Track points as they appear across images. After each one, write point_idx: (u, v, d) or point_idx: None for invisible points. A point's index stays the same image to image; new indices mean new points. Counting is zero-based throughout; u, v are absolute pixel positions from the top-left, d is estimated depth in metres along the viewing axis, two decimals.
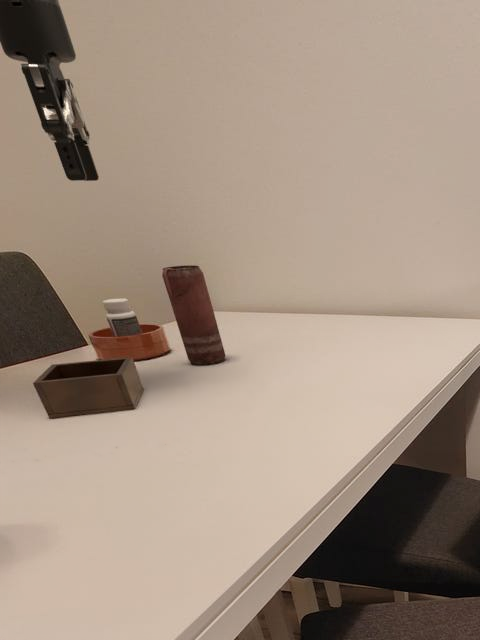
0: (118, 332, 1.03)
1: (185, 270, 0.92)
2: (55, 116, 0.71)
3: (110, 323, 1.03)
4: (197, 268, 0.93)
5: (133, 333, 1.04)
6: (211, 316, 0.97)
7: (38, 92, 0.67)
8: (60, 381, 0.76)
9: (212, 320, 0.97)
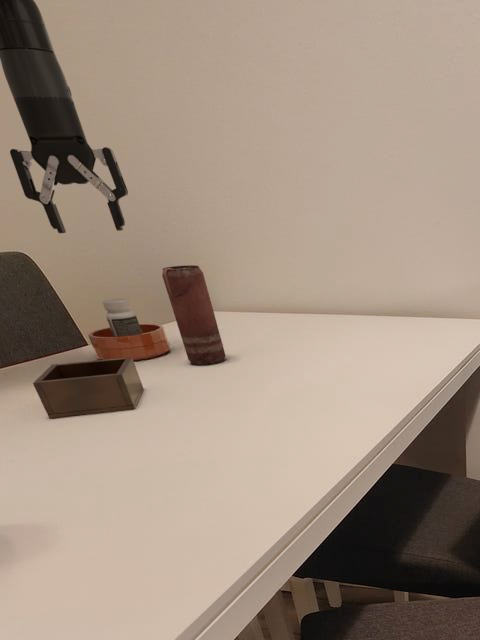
0: (118, 332, 1.03)
1: (185, 270, 0.92)
2: None
3: (110, 323, 1.03)
4: (197, 268, 0.93)
5: (133, 333, 1.04)
6: (211, 316, 0.97)
7: (117, 167, 0.92)
8: (60, 381, 0.76)
9: (212, 320, 0.97)
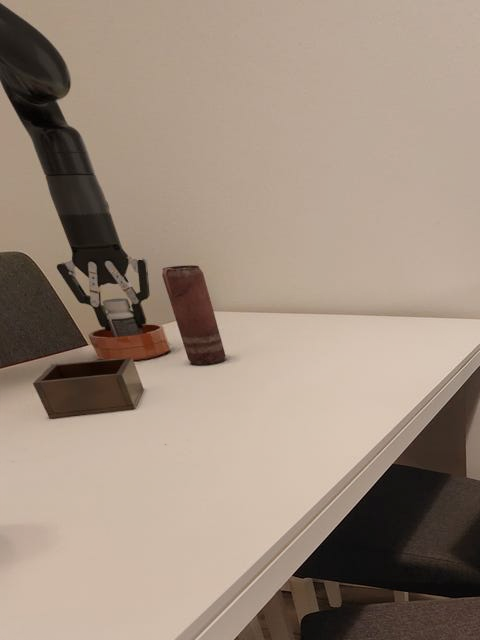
0: (118, 332, 1.03)
1: (185, 270, 0.92)
2: None
3: (110, 323, 1.03)
4: (197, 268, 0.93)
5: (133, 333, 1.04)
6: (211, 316, 0.97)
7: (147, 276, 1.01)
8: (60, 381, 0.76)
9: (212, 320, 0.97)
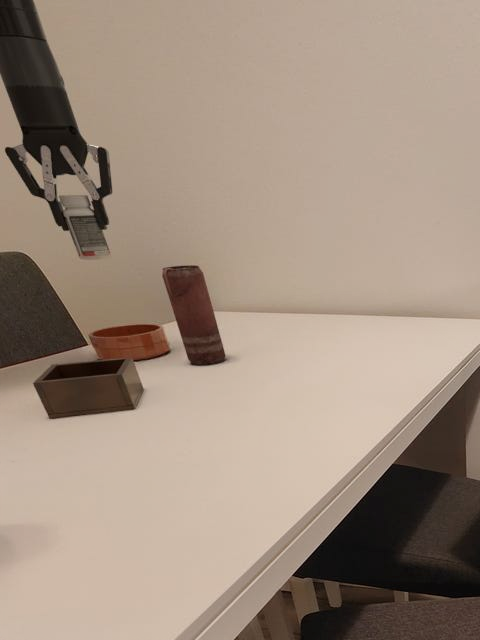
0: (76, 232, 0.93)
1: (185, 270, 0.92)
2: None
3: (67, 221, 0.92)
4: (197, 268, 0.93)
5: (94, 234, 0.94)
6: (211, 316, 0.97)
7: (108, 168, 0.91)
8: (60, 381, 0.76)
9: (212, 320, 0.97)
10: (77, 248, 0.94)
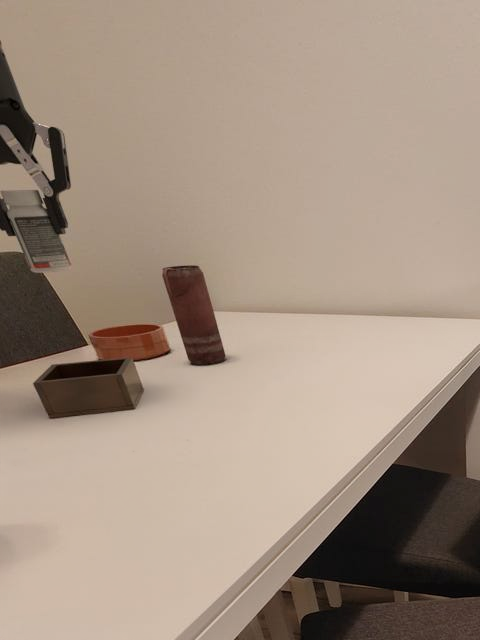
0: (25, 238, 0.72)
1: (185, 270, 0.92)
2: None
3: (13, 224, 0.72)
4: (197, 268, 0.93)
5: (47, 240, 0.73)
6: (211, 316, 0.97)
7: (64, 155, 0.70)
8: (60, 381, 0.76)
9: (212, 320, 0.97)
10: (27, 258, 0.74)
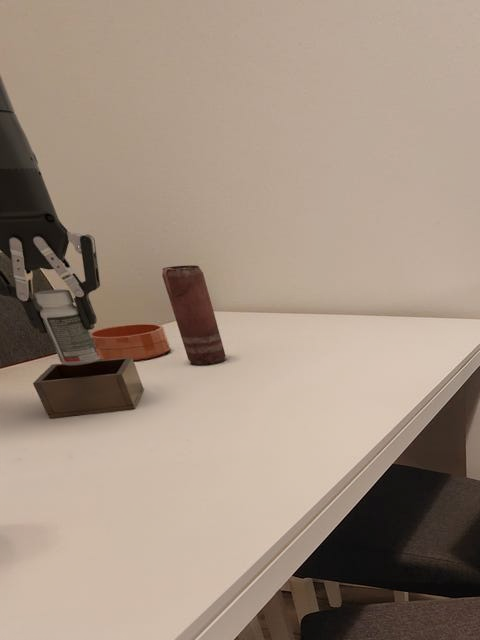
0: (56, 336, 0.76)
1: (185, 270, 0.92)
2: None
3: (45, 323, 0.76)
4: (197, 268, 0.93)
5: (78, 336, 0.77)
6: (211, 316, 0.97)
7: (94, 259, 0.74)
8: (60, 381, 0.76)
9: (212, 320, 0.97)
10: (58, 352, 0.78)
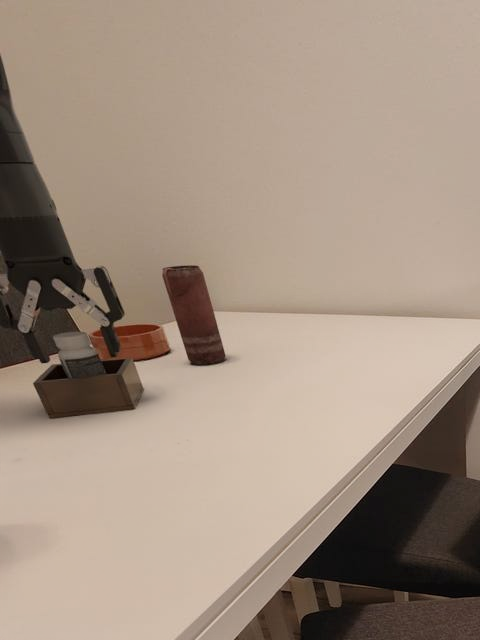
0: (74, 376, 0.79)
1: (185, 270, 0.92)
2: (93, 306, 0.77)
3: (63, 364, 0.79)
4: (197, 268, 0.93)
5: None
6: (211, 316, 0.97)
7: (112, 288, 0.76)
8: (60, 381, 0.76)
9: (212, 320, 0.97)
10: None
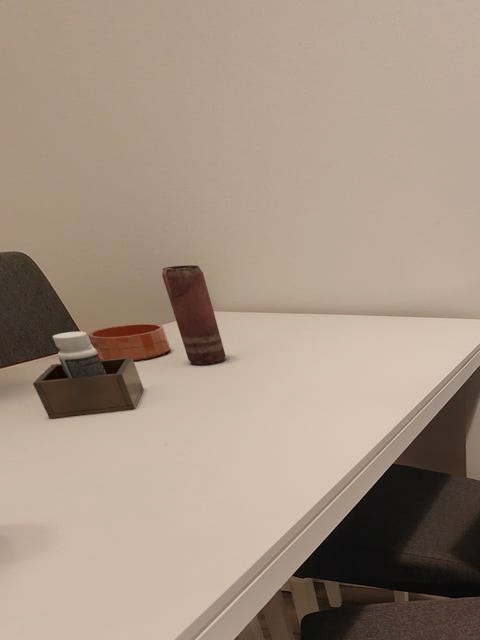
0: (74, 376, 0.79)
1: (185, 270, 0.92)
2: None
3: (63, 364, 0.79)
4: (197, 268, 0.93)
5: None
6: (211, 316, 0.97)
7: None
8: (60, 381, 0.76)
9: (212, 320, 0.97)
10: None
